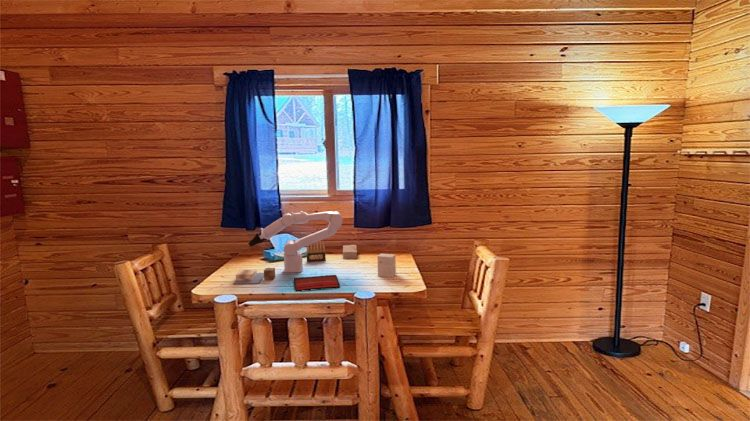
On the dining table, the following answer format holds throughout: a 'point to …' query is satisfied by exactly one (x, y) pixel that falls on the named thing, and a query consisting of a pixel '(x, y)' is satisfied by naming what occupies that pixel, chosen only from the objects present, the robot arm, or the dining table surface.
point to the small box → (386, 265)
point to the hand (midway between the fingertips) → (251, 244)
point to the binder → (316, 282)
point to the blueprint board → (255, 281)
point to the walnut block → (269, 273)
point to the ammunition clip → (316, 252)
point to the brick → (349, 252)
